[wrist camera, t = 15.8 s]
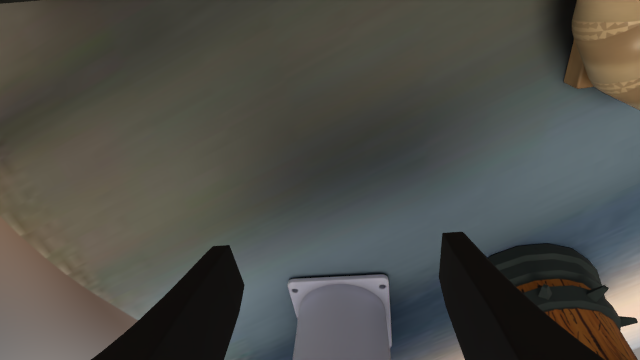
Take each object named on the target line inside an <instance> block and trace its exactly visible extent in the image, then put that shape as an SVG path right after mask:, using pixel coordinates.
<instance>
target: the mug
mask: <svg viewBox="0 0 640 360" xmlns="http://www.w3.org/2000/svg"><path fill="white" fill-rule="evenodd" d="M488 259H489V260H490V261H491V262H492V263H493V265H494V266H495V267H496V268H497V269H498V270H499V271H500V272H501V273H502V274H504V275H505V276H506V277H507V278H508V279H509V280H510V281H511V282H512V283H513V284H514V285H515V286H516V287H517V288H518V289H519V290H520V291H521V292H522V293H523V294H524V295H526V296H527V297H528V298H529V299H530V300H531V301H532V302H533V303H534V304H536V305H537V306H538V307H539V308H540V309H541V310H542V311H544V312H545V313H546V314H547V315H548V316H549V317H551V318H552V319H553V320H554V321H555V322H557V323H558V324H559V325H560V326H561V327H563V328H564V329H565V330H566V331H568V332H569V333H570V334H572V335H573V336H574V337H575V338H577V339H578V340H579V341H580V342H582V343H583V344H584V345H586V346H587V347H588V348H590V349H591V350H592V351H594V352H595V353H596V354H598V355H599V356H601V357H602V358H603V359H605V360H637V358H636V356H635V355H634V353H633V351H632V350H631V348H630V346H629V345H628V343H627V341H626V340H625V338H624V337H623V335H622V333H621V332H620V328H621V327H623V326H627V325H631V324H635V323H638V322H637V319H636V318H631V317H620V316H618V314H617V313H616V311H615V310H614V308H613V306H612V305H611V304H610V303H609V302H608V301H607V300H606V299H605V296H604V293H605V292H606V291H607V290H608V287H606V286H605V285H603V286H602V284H601V281H600V278H599V275H598V272H597V269H596V268H595V267H594V266H593V265H592V264H591V262H590V261H589V260H588V259H586V258H585V257H583V256H582V255H581V254H579V253H578V252H576V251H575V250H573V249H572V248H567V247H562V246H557V245H552V244H536V245H525V246H517V247H514V248H512V249H509V250H506V251H503V252H500V253H497V254H495V255H492V256H490V257H489V258H488Z"/></svg>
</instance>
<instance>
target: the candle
mask: <svg viewBox="0 0 640 360" xmlns="http://www.w3.org/2000/svg"><path fill="white" fill-rule="evenodd" d="M25 1H37V0H0V4H1V3H13V2H25Z"/></svg>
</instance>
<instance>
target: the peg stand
mask: <svg viewBox="0 0 640 360" xmlns="http://www.w3.org/2000/svg"><path fill="white" fill-rule="evenodd" d="M564 83H566V84H568V85H570V86H572V87H574V88H577V89H579V88H588V87H594V85H593V84H592V83H591V81H590V80H589V78H588V75H587V73H586V70H585V67H584V64H583V62H582V59H581V56H580V53H579V51H578V48H577V45H576V42H575V40H574V42H573V46H572V50H571V54H570V58H569V62H568V66H567V70H566V74H565V78H564Z"/></svg>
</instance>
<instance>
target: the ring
mask: <svg viewBox="0 0 640 360" xmlns="http://www.w3.org/2000/svg"><path fill="white" fill-rule="evenodd" d="M572 33H573V37H574V40H575V42H576V45H577V48H578V51H579V53H580V56H581V59H582V62H583V64H584V67H585V70H586V73H587V75H588V78H589V80H590V81H591V83H592V84H593V85H594V87H596V88H597V89H598V90H600V91H601V92H603V93H605V94H607V95H609V96H611V97H613V98H615V99H617V100H620V101H622V102H624V103H626V104H628V105H630V106H632V107H634V108H636V109H638V110H640V0H577V2H576V6H575V10H574V14H573V19H572Z"/></svg>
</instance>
